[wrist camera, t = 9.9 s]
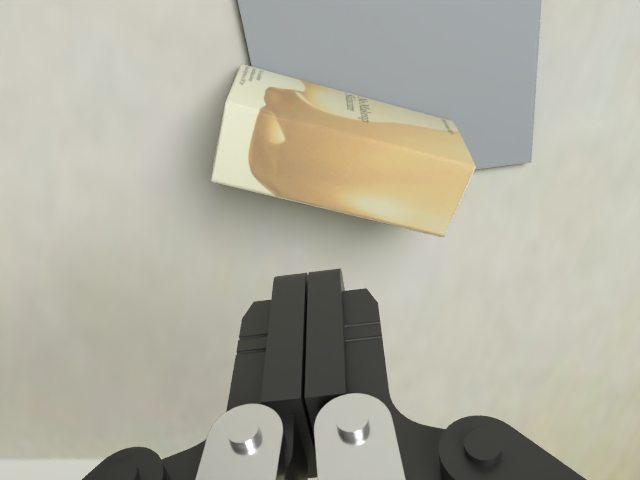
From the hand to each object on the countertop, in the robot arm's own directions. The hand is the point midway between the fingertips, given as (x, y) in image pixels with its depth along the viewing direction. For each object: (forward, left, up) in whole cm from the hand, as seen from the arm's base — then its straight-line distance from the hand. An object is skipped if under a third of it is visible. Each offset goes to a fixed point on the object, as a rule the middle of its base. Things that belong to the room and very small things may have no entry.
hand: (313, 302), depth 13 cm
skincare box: (+2, -5, -17) cm, 18 cm away
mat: (0, +4, -21) cm, 21 cm away
